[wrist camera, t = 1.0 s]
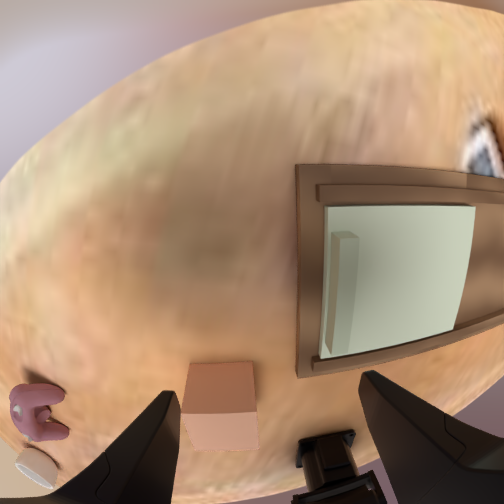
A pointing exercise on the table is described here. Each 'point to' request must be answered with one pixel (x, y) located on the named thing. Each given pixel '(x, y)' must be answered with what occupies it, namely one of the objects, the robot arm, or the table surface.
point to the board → (396, 192)
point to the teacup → (37, 467)
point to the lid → (391, 273)
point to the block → (221, 407)
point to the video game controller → (36, 411)
